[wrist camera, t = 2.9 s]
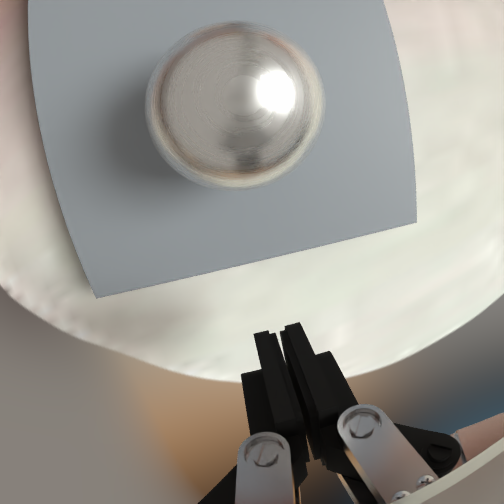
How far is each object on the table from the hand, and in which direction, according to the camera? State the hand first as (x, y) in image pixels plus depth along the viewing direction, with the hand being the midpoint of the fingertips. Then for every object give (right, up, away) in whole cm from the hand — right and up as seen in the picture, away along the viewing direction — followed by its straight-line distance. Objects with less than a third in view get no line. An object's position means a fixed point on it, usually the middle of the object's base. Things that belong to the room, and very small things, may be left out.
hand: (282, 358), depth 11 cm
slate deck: (-3, +14, -1) cm, 15 cm away
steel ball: (-2, +8, -3) cm, 9 cm away
